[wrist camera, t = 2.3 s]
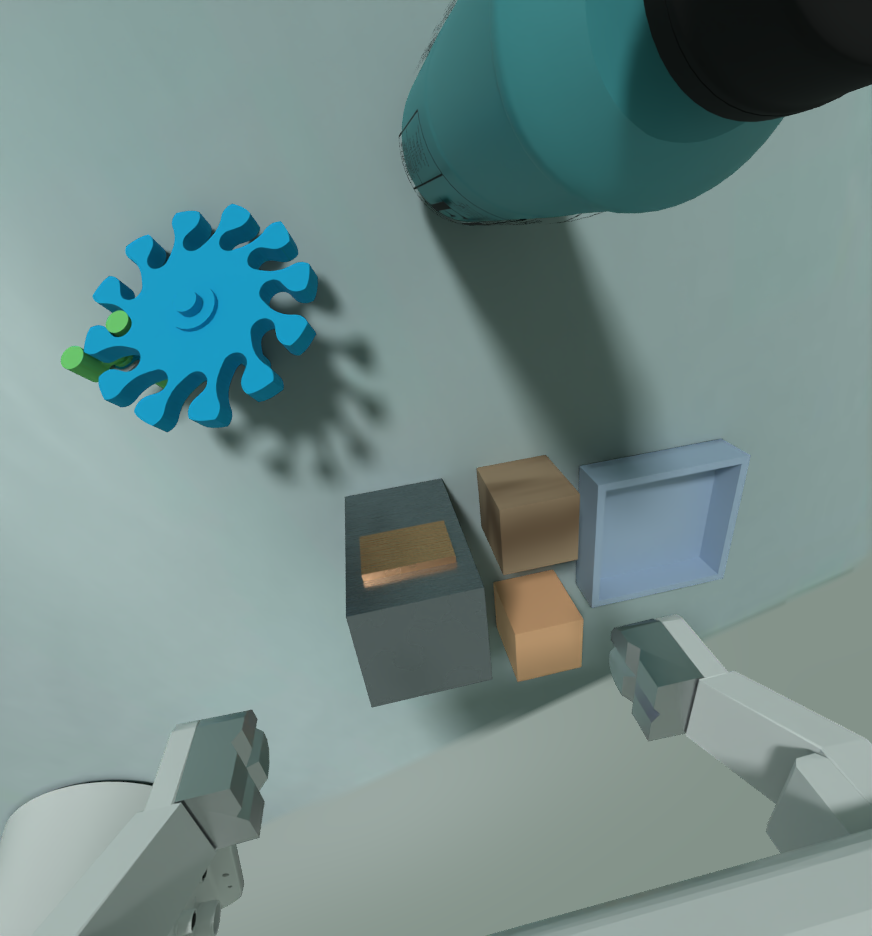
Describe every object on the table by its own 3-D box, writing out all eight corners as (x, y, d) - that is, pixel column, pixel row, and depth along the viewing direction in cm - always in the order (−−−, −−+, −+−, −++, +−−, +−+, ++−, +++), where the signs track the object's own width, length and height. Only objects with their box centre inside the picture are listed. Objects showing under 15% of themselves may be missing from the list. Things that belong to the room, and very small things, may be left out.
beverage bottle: (395, 225, 23) (582, 232, 5) (389, 44, 19) (808, -1550, 2) (527, 225, 24) (1063, 230, 6) (540, 53, 20) (1711, -958, 3)
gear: (287, 162, 19) (323, 379, 17) (338, 258, 25) (372, 432, 22) (48, 241, 20) (45, 458, 18) (149, 317, 26) (159, 489, 23)
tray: (699, 556, 36) (723, 578, 34) (575, 583, 35) (591, 607, 33) (721, 438, 32) (750, 455, 29) (579, 465, 31) (598, 485, 28)
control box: (451, 558, 32) (492, 683, 23) (364, 576, 32) (372, 711, 23) (441, 472, 29) (483, 580, 20) (343, 491, 28) (344, 610, 20)
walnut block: (545, 513, 32) (577, 559, 28) (481, 526, 32) (503, 575, 27) (545, 454, 30) (579, 494, 26) (476, 467, 29) (499, 509, 25)
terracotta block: (552, 613, 37) (581, 666, 32) (496, 626, 36) (517, 681, 32) (552, 568, 34) (583, 619, 30) (493, 581, 34) (515, 634, 30)
